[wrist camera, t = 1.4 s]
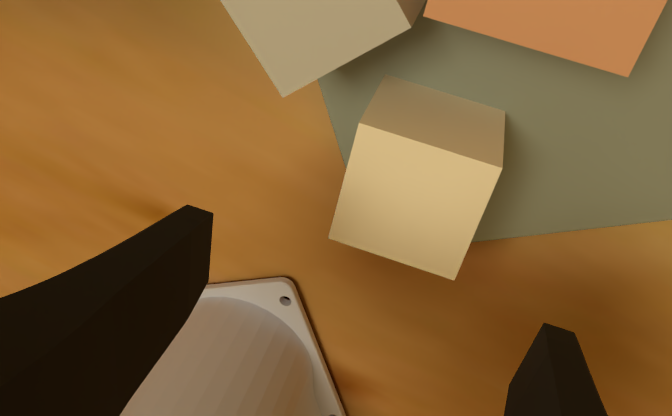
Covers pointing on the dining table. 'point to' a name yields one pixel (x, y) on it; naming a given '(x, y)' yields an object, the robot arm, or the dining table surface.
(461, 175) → the cream cube
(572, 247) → the dining table surface
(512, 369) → the dining table surface
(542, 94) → the board
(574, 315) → the dining table surface
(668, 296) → the dining table surface
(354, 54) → the grey cube
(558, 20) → the terracotta block
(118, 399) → the robot arm
